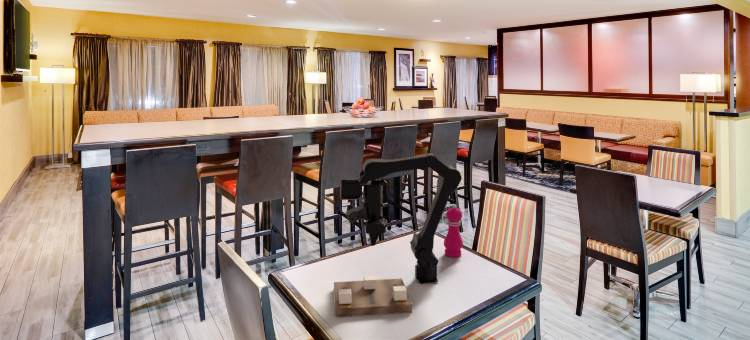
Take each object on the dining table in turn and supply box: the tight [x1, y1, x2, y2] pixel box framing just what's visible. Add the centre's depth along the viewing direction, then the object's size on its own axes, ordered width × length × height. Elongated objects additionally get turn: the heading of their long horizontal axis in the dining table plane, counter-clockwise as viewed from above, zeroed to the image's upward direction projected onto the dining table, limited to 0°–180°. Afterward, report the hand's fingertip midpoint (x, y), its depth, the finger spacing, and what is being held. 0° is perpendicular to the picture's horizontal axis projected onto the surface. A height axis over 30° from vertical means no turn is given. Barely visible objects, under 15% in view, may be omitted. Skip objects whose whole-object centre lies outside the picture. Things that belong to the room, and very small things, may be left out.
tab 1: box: [339, 289, 352, 304], centre depth 127 cm, size 4×3×3 cm
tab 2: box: [363, 275, 377, 289], centre depth 135 cm, size 4×3×3 cm
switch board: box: [333, 278, 413, 318], centre depth 133 cm, size 22×17×3 cm
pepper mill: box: [443, 203, 464, 259], centre depth 166 cm, size 7×7×20 cm
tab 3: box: [393, 285, 408, 301], centre depth 128 cm, size 4×3×3 cm
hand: (372, 245), depth 143 cm, fingers closed
